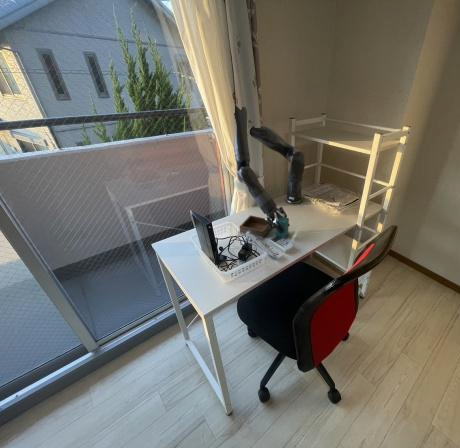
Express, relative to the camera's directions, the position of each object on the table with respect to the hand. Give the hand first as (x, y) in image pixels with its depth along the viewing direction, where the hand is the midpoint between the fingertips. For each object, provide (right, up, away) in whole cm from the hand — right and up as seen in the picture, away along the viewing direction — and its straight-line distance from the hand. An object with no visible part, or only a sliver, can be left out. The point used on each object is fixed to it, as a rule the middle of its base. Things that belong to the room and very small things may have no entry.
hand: (285, 229), depth 123 cm
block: (-2, -4, +3) cm, 5 cm away
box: (-15, 0, +7) cm, 17 cm away
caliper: (-12, -9, -6) cm, 16 cm away
